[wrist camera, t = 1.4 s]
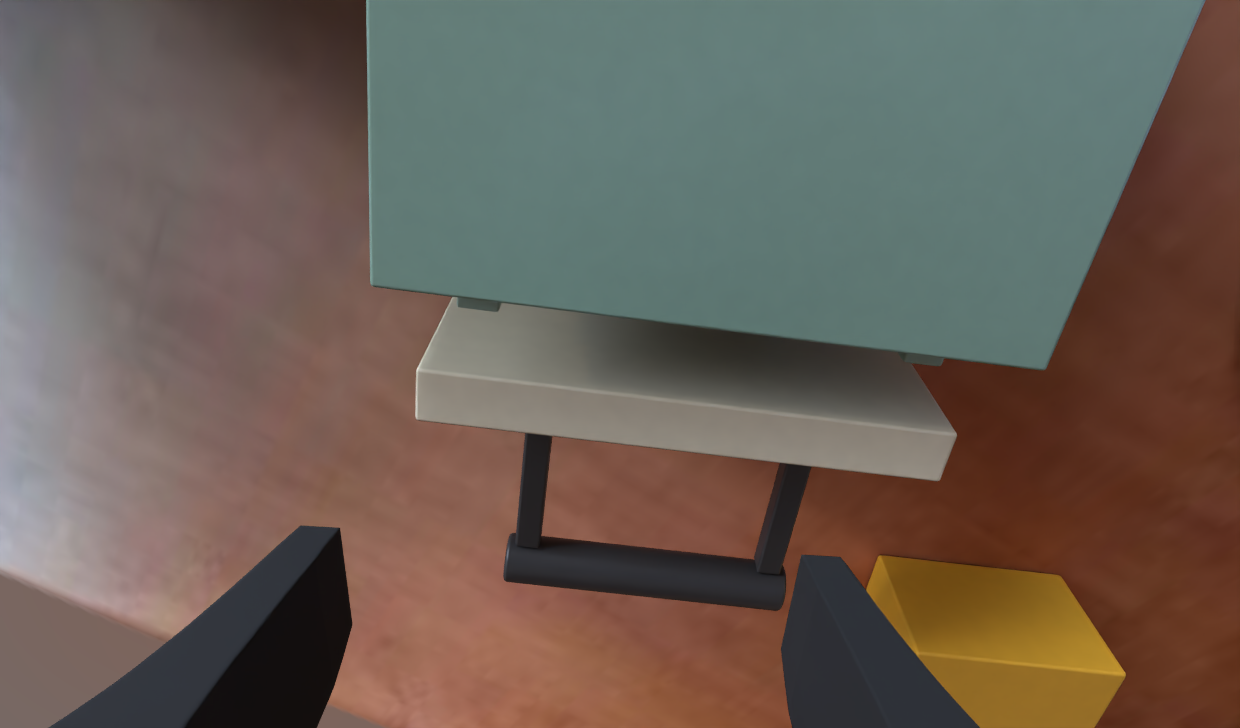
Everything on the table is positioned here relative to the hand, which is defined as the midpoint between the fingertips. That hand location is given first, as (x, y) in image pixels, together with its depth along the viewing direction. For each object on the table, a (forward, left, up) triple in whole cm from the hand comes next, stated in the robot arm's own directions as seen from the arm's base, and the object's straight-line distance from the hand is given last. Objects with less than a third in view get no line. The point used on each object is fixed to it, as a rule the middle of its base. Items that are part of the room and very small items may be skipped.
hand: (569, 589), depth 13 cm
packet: (-13, +9, -10) cm, 19 cm away
